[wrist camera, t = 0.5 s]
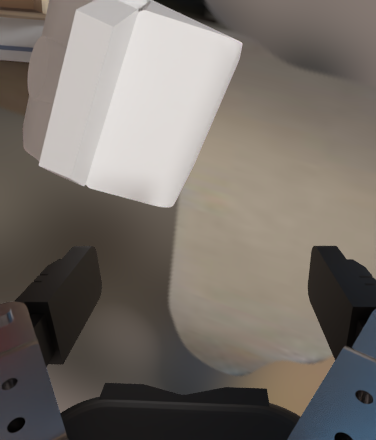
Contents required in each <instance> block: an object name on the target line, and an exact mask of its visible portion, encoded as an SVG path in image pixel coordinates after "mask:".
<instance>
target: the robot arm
mask: <svg viewBox="0 0 376 440" xmlns="http://www.w3.org/2000/svg"><path fill="white" fill-rule="evenodd" d="M101 289H102V282H101V276H100V270H99V264H98V257H97V252H96V249H95V247H93V246H74V247H72V248H71V249H70V250H69V252H68V253H67V254H66V255H65V256H64V257H63V258H62V259H59V260H57V261H55V262H53V263H52V264H50V265H48V266H47V267H46V268H45V269H44V270H43V271H42V272H41V274H40V276H38V277H37V278H36V279H35V280H34V282H32V283H31V284H30V285H29V286H28V287H27V288H26V290H25V291H24V292H23V293H22V294H21V295H20V296H19V297H18V298H17V299H16V300H15V301H14V302H6V303H2V304H0V440H376V280H375V279H374V278H372V275H371V274H370V272H369V271H368V270H367V269H366V268H365V267H364V266H362V265H361V264H359V263H358V262H356V261H354V260H347V259H346V258H345V257H344V255H343V254H342V253H341V251H340V250H339V249H338V247H337V246H314V247H313V248H312V252H311V261H310V270H309V280H308V295H309V299H310V302H311V305H312V307H313V309H314V312H315V314H316V316H317V319H318V321H319V323H320V326H321V328H322V330H323V333H324V335H325V337H326V340H327V342H328V344H329V347H330V349H331V351H332V354H333V356H334V358H335V362H334V364H333V365H332V367H331V368H330V370H329V372H328V373H327V375H326V377H325V379H324V380H323V382H322V383H321V385H320V386H319V388H318V390H317V391H316V393H315V395H314V396H313V398H312V399H311V401H310V403H309V405H308V406H307V408H306V409H305V411H304V413H303V414H302V416H301V417H300V416H298V415H297V414H295V413H293V412H291V411H289V410H287V409H285V408H283V407H280V406H277V405H274V404H271V403H269V400H268V395H267V394H268V393H267V389H259V388H230V387H225V388H219V389H214V390H209V391H204V392H198V393H193V394H188V395H180V394H176V393H173V392H169V391H165V390H162V389H158V388H155V387H151V386H148V385H144V384H119V383H118V384H117V383H105V385H104V387H103V390H102V393H101V395H100V397H96V398H92V399H89V400H86V401H83V402H81V403H78V404H76V405H74V406H72V407H70V408H68V409H67V410H65V411H63V412H62V413H60V411H59V408H58V404H57V402H56V398H55V395H54V392H53V388H52V385H51V382H50V378H49V375H48V372H47V369H46V367H47V365H48V364H64V362H65V360H66V358H67V356H68V355H69V353H70V350H71V349H72V347H73V346H74V344H75V342H76V340H77V338H78V336H79V335H80V333H81V331H82V329H83V327H84V326H85V324H86V322H87V320H88V318H89V316H90V315H91V313H92V311H93V309H94V307H95V306H96V304H97V302H98V300H99V298H100V295H101Z"/></svg>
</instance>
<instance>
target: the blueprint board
mask: <svg viewBox="0 0 376 440" xmlns="http://www.w3.org/2000/svg"><path fill="white" fill-rule="evenodd" d="M44 23H45V20H34V19H21V18H7V17H0V60H5V61H17V62H30V58H31V54H32V51H33V48H34V45H35V43H36V42H37V40H38V39H39V38H40V37H41V36H42V32H43V27H44Z"/></svg>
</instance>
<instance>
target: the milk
mask: <svg viewBox="0 0 376 440" xmlns="http://www.w3.org/2000/svg"><path fill="white" fill-rule="evenodd" d="M241 49H242V43H241V42H240V41H238V40H236V39H234V38H231V37H229V36H227V35H225V34H223V33H221V32H219V31H216V30H214V29H212V28H210V27H208V26H206V25H204V24H202V23H199V22H197V21H195V20H193V19H191V18H189V17H187V16H184V15H182V14H180V13H178V12H176V11H174V10H172V9H170V8H167V7H165V6H163V5H161V4H159V3H157V2H155V1H153V0H49V4H48V8H47V13H46V18H45V23H44V27H43V32H42V36H41V37H40V38H39V39H38V40H37V42H36V43H35V45H34V48H33V51H32V54H31V58H30V62H29V68H28V79H27V82H28V92H29V98H28V103H27V108H26V113H25V117H24V122H23V148H24V150H25V151H26V152H27V153H29V154H30V155H31V156H33V157H34V158H36V159H37V160H38V161H39V166H40V167H42V168H44V169H46V170H48V171H50V172H52V173H54V174H56V175H58V176H60V177H63V178H65V179H67V180H70V181H72V182H75V183H77V184H79V185H82V186H85V185H87V186H88V187H89V188H91V189H95V190H98V191H102V192H106V193H109V194H113V195H117V196H121V197H124V198H128V199H132V200H136V201H139V202H143V203H147V204H151V205H154V206H159V207H171V206H173V205H174V203H175V201H176V199H177V197H178V195H179V193H180V191H181V189H182V187H183V186H184V184H185V182H186V180H187V178H188V176H189V174H190V172H191V170H192V168H193V166H194V164H195V161H196V159H197V157H198V154H199V152H200V150H201V147H202V145H203V143H204V140H205V138H206V136H207V133H208V131H209V129H210V127H211V124H212V122H213V120H214V117H215V115H216V113H217V110H218V108H219V106H220V103H221V101H222V99H223V96H224V94H225V92H226V89H227V87H228V85H229V82H230V80H231V78H232V75H233V73H234V71H235V69H236V66H237V64H238V62H239V59H240V54H241Z"/></svg>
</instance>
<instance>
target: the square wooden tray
mask: <svg viewBox="0 0 376 440" xmlns="http://www.w3.org/2000/svg"><path fill="white" fill-rule="evenodd" d="M48 4H49V0H0V17H7V18H21V19H34V20H45V18H46V13H47V8H48Z"/></svg>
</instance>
